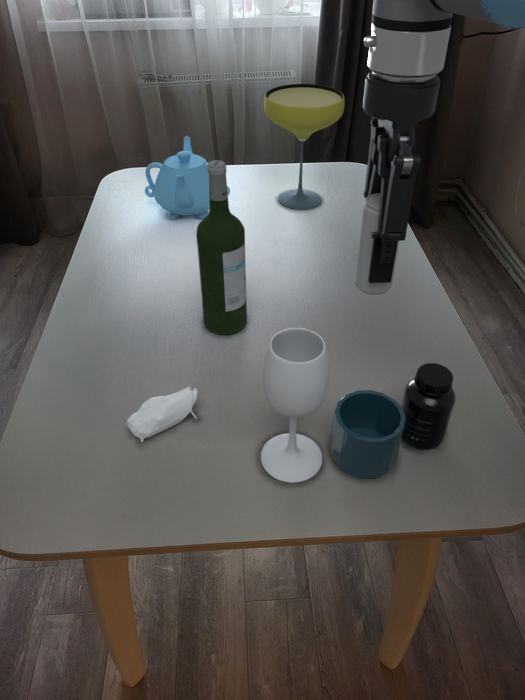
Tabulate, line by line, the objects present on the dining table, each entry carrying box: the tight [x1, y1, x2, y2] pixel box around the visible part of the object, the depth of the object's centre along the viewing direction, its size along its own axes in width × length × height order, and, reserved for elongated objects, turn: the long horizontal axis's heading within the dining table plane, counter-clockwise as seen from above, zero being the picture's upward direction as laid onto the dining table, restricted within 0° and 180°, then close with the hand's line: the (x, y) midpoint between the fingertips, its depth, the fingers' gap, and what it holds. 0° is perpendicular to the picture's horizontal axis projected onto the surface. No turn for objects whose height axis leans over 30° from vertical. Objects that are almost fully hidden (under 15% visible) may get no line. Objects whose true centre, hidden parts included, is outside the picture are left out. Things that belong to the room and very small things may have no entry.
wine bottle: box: [195, 159, 248, 336], centre depth 92 cm, size 8×8×30 cm
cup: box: [330, 389, 406, 480], centre depth 77 cm, size 9×9×8 cm
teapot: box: [144, 135, 231, 220], centre depth 132 cm, size 16×20×14 cm
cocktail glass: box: [263, 83, 346, 210], centre depth 132 cm, size 18×18×25 cm
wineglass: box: [260, 327, 330, 484], centre depth 72 cm, size 9×9×21 cm
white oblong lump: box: [126, 386, 199, 443], centre depth 82 cm, size 5×7×10 cm
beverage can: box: [354, 193, 400, 296], centre depth 69 cm, size 5×5×12 cm
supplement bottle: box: [400, 362, 456, 450], centre depth 78 cm, size 7×7×12 cm
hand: (375, 268), depth 71 cm, fingers closed on beverage can, 5 cm apart
